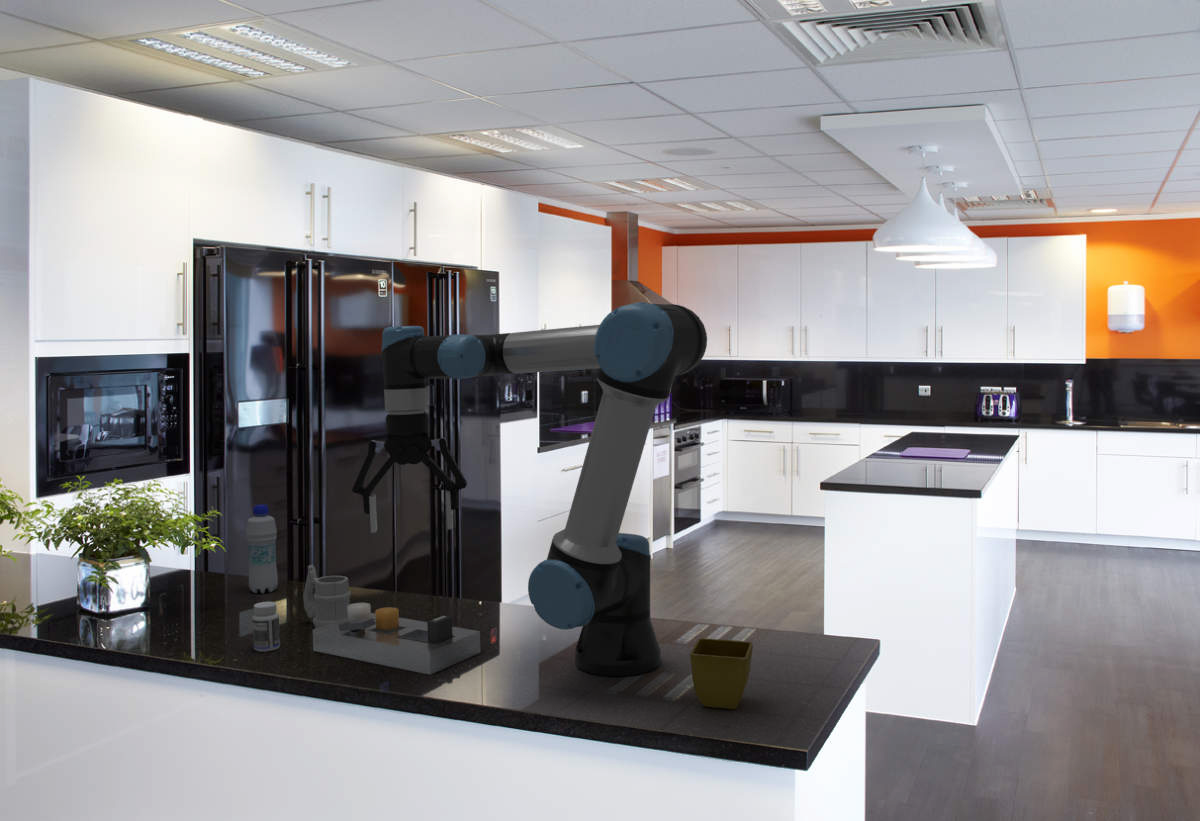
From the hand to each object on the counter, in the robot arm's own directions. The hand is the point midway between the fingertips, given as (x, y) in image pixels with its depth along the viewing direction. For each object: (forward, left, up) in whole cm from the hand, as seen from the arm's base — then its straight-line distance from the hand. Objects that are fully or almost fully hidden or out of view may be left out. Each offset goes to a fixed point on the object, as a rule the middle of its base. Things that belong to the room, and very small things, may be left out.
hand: (412, 529), depth 189 cm
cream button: (+13, 0, -19) cm, 23 cm away
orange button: (+6, 0, -19) cm, 20 cm away
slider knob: (-6, 0, -21) cm, 22 cm away
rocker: (+9, +5, -17) cm, 20 cm away
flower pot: (-59, -4, -23) cm, 64 cm away
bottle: (+62, -20, -23) cm, 69 cm away
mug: (+28, -6, -23) cm, 37 cm away
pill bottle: (+27, +10, -23) cm, 37 cm away
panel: (+4, 0, -23) cm, 23 cm away
